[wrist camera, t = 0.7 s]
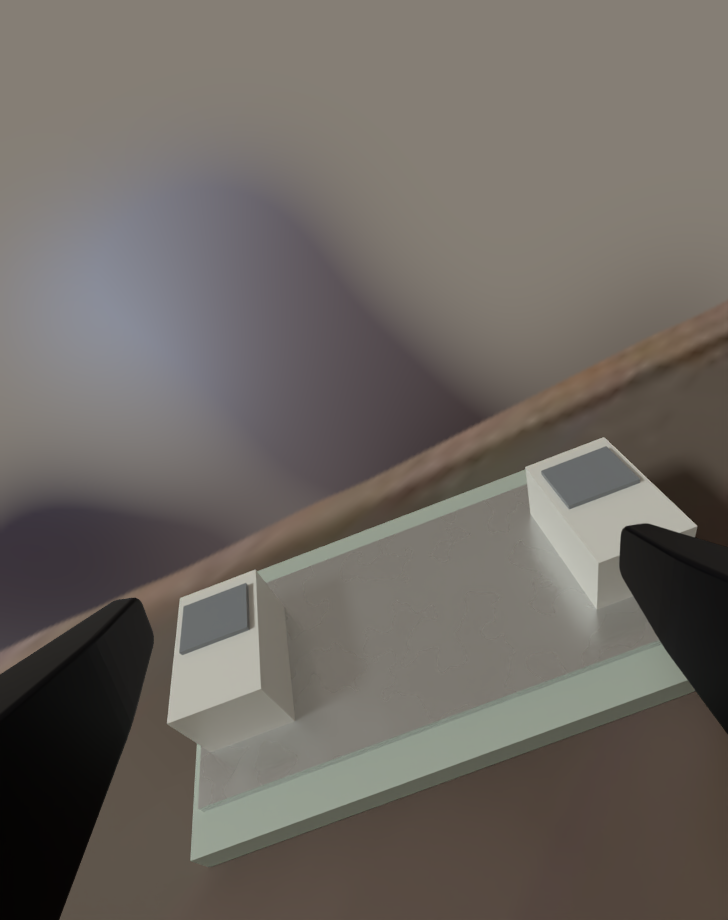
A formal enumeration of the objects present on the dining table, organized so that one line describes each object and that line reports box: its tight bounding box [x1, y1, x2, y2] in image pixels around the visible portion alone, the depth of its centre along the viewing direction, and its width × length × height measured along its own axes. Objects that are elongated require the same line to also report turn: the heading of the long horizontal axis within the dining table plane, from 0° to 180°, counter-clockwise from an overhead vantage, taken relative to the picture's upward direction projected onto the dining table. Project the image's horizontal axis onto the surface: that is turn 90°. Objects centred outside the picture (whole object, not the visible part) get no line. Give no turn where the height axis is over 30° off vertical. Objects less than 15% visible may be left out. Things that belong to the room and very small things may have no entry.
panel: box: [191, 470, 695, 867], centre depth 24 cm, size 24×13×2 cm, turn 103°
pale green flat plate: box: [198, 484, 662, 812], centre depth 23 cm, size 23×10×1 cm, turn 103°
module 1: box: [167, 570, 295, 752], centre depth 22 cm, size 4×6×4 cm, turn 13°
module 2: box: [525, 437, 697, 609], centre depth 22 cm, size 4×6×4 cm, turn 13°
